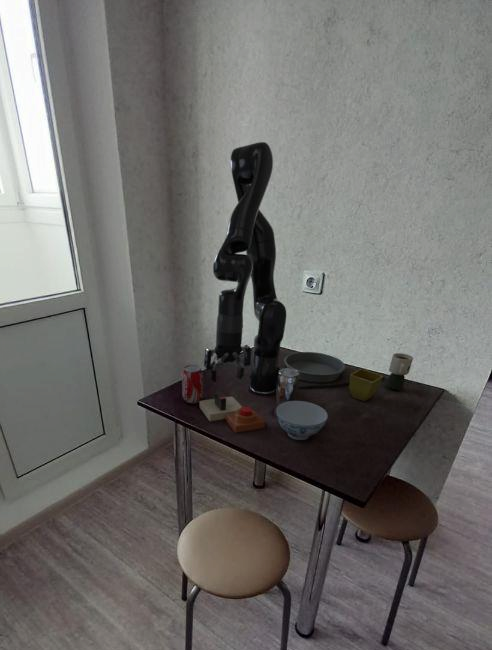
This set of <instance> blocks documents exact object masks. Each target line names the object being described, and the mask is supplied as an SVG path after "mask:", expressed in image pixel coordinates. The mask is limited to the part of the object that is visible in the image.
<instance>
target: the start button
mask: <svg viewBox="0 0 492 650" xmlns="http://www.w3.org/2000/svg"><path fill="white" fill-rule="evenodd" d="M252 410H253V409H252V407H250V406H246V405H245V406H242V407H241V408H240V415H242V416H251V414H252Z"/></svg>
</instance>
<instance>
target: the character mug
mask: <svg viewBox="0 0 492 650" xmlns="http://www.w3.org/2000/svg"><path fill="white" fill-rule="evenodd" d="M413 360H414V357H413V355H410V354H408V353H402V352H396V353H393V354H392V356H391V361H390V364H389V368H388V371H389V373H390V374H389V375H388V379H387V380H386V383H385V387H386V388H388V389H392V390H394V391H402V390H403V389H404V385H405V378H406V377H405V376H407V375H408V374H409V373H410V371H411V367H412V364H413Z"/></svg>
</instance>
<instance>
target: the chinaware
mask: <svg viewBox="0 0 492 650" xmlns="http://www.w3.org/2000/svg"><path fill="white" fill-rule="evenodd" d="M276 417H277V421H278V424H279V425H280V427H281V428H282V430H283V431H284V432H285V433H287V436H288V437H289V438H291V439H293V440H297V441H305V440H308V439H309V438H310V437H312V436H314V435H316V434H317V433H319V432H320V431H321V430H322V428H323V427H324V426H325V424H326V422H327V420H328V411H326V409H324V408H323V407H321V406H319V404H315V403H313V402H309V401H304V400H303V401H302V400H294V401H289V402H285V403H282V404H280V405H279V406H278V407H277V416H276Z"/></svg>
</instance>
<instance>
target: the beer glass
mask: <svg viewBox="0 0 492 650" xmlns="http://www.w3.org/2000/svg"><path fill="white" fill-rule="evenodd" d="M299 380H300V379H299V372H298V371H297V370H294V369H289V368H287V367H286V368H285V367H284V368H280V370H279V371H278V376H277V382H276V392H275V398H276V404H275V408H274V410H273V414H274V416H276V417H277V407H278V406H279V405H280V404H282V403H285V402H289V401H295V400H296V399H295V398H296V395H297V393H298V389H299V388H298V387H299Z"/></svg>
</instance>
